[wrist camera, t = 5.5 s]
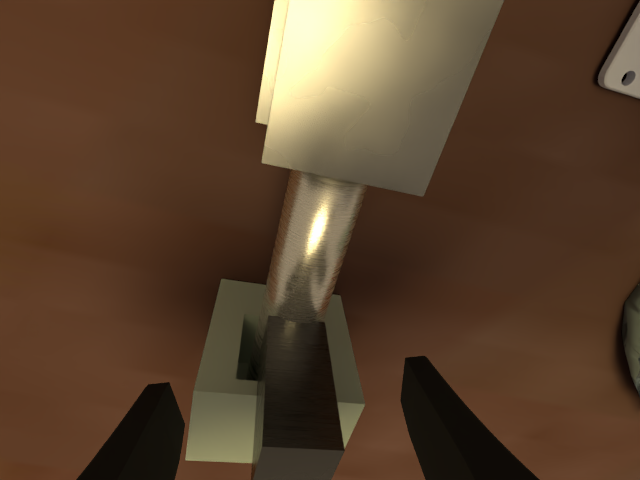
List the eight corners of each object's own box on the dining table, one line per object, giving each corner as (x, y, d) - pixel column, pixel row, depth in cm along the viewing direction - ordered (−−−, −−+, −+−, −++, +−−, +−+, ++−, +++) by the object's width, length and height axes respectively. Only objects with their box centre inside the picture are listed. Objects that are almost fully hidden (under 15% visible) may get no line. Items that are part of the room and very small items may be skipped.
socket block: (340, 295, 18) (365, 404, 13) (321, 350, 20) (336, 466, 15) (221, 278, 17) (193, 390, 12) (212, 338, 19) (185, 460, 14)
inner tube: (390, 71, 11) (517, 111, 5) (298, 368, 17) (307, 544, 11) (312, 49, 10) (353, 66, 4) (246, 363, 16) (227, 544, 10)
